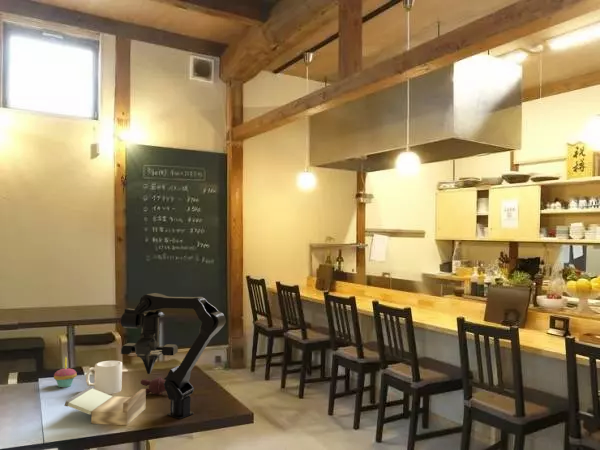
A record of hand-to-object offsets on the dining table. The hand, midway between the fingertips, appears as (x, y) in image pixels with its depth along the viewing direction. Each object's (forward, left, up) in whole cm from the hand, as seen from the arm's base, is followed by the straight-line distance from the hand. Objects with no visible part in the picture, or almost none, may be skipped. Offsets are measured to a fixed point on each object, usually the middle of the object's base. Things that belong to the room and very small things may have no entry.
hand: (149, 373), depth 178 cm
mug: (+33, -6, -13) cm, 36 cm away
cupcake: (+51, 0, -13) cm, 53 cm away
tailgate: (+9, +12, -9) cm, 18 cm away
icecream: (+12, -15, -13) cm, 24 cm away
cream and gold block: (+4, +9, -13) cm, 16 cm away
